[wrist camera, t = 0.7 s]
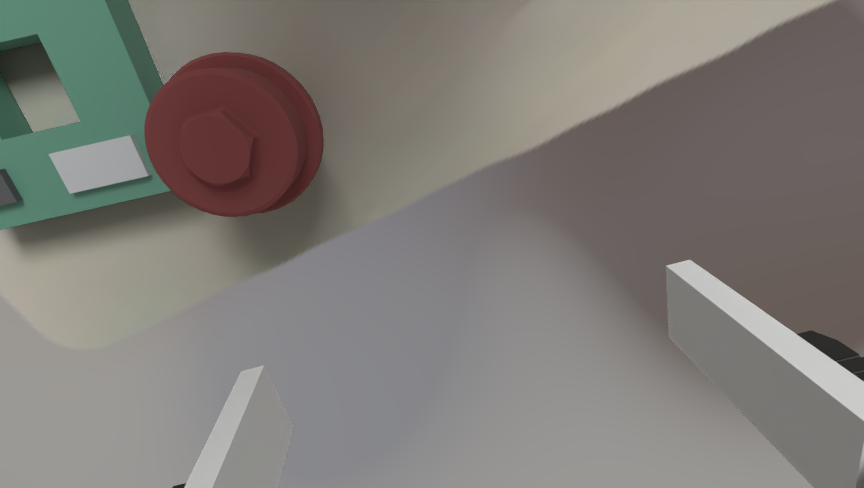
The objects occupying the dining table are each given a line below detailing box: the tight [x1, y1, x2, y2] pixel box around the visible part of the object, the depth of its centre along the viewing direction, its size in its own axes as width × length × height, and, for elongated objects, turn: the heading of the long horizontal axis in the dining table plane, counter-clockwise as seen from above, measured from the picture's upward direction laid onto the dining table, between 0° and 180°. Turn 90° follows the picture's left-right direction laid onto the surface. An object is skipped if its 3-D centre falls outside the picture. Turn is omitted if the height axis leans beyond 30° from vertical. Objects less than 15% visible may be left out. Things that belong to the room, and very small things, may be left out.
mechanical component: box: [144, 52, 324, 217], centre depth 30 cm, size 12×10×10 cm
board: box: [0, 0, 171, 230], centre depth 32 cm, size 22×16×4 cm
